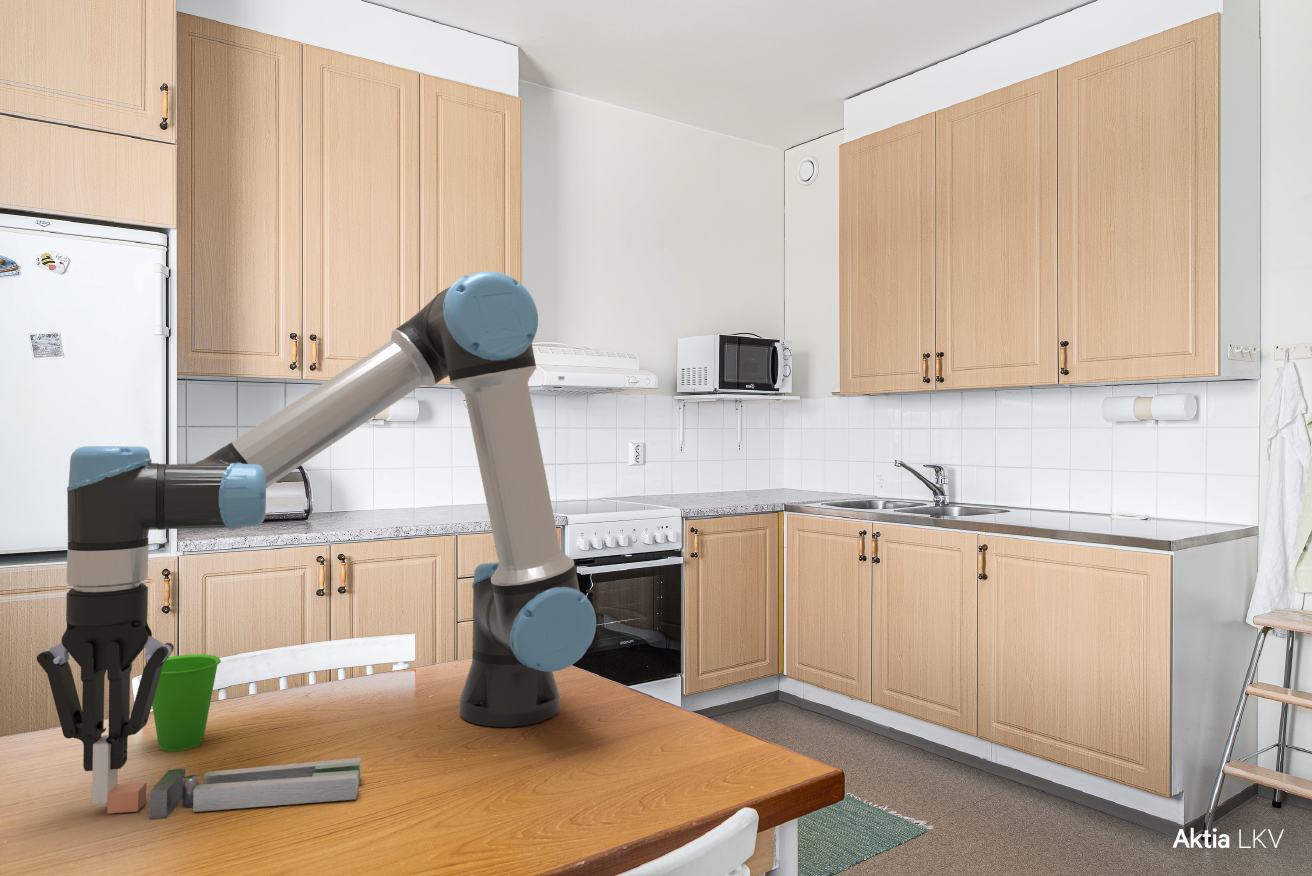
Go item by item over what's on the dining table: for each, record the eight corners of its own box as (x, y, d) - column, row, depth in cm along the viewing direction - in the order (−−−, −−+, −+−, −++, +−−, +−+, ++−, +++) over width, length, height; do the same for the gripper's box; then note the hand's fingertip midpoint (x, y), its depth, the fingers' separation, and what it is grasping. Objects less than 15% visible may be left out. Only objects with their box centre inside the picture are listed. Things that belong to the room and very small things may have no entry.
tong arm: (360, 777, 101) (360, 757, 101) (359, 784, 99) (359, 764, 99) (205, 792, 96) (205, 771, 96) (200, 801, 94) (201, 780, 94)
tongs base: (361, 781, 100) (361, 756, 100) (355, 802, 95) (355, 776, 95) (168, 795, 96) (168, 769, 96) (149, 818, 90) (149, 791, 90)
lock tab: (146, 801, 94) (146, 782, 94) (137, 811, 91) (138, 791, 91) (116, 803, 93) (116, 784, 93) (107, 813, 90) (107, 793, 90)
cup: (185, 760, 106) (186, 674, 106) (124, 753, 108) (126, 669, 108) (234, 735, 115) (235, 656, 115) (177, 730, 117) (179, 652, 117)
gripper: (184, 578, 97) (181, 779, 97) (57, 580, 94) (54, 788, 94) (161, 589, 89) (157, 807, 89) (23, 593, 86) (19, 818, 86)
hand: (105, 797), depth 92 cm, fingers closed
